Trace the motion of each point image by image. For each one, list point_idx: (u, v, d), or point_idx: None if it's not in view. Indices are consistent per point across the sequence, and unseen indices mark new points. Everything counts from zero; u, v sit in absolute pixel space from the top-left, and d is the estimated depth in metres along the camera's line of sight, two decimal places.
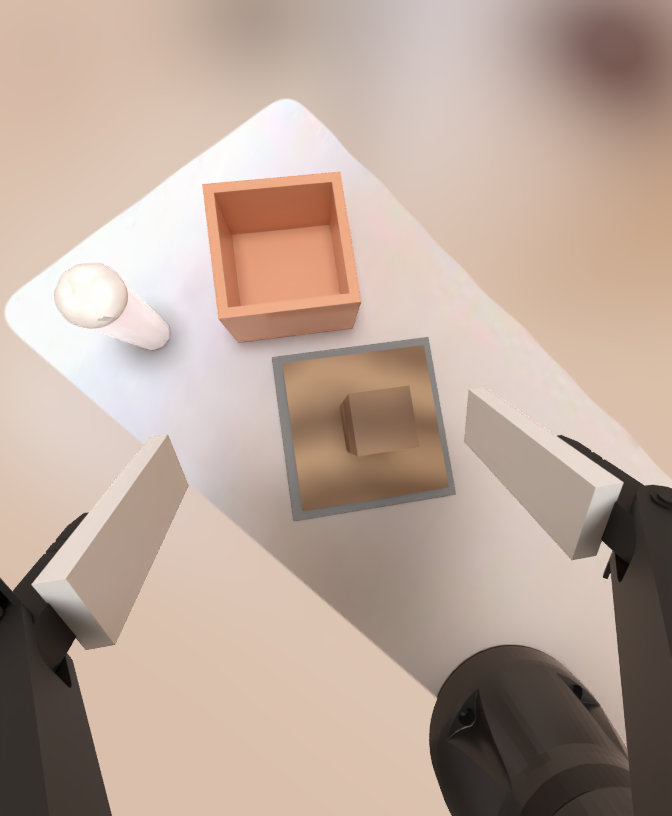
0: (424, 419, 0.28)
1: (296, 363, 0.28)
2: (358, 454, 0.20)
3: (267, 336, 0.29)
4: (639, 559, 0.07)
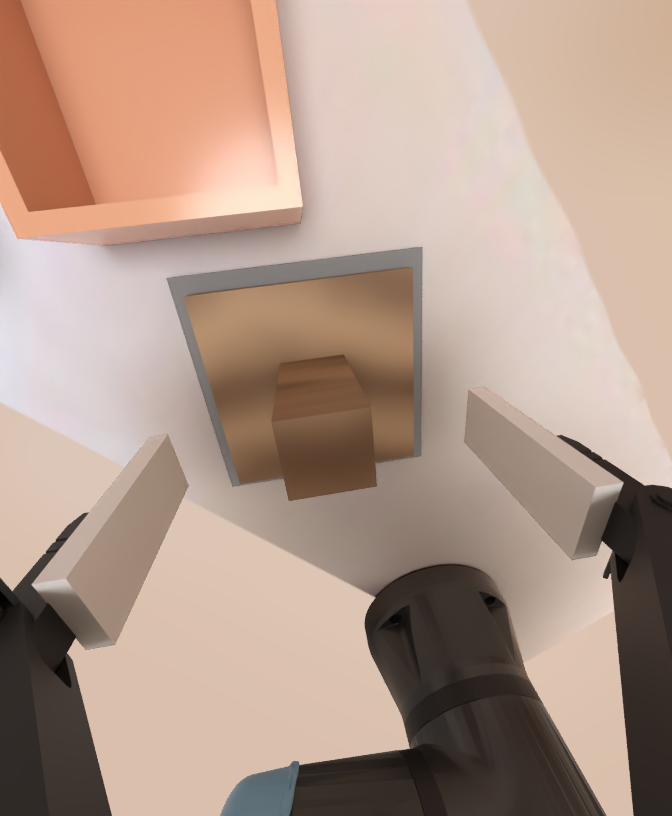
0: (396, 379, 0.21)
1: (206, 296, 0.18)
2: (289, 498, 0.14)
3: (151, 238, 0.17)
4: (639, 559, 0.07)
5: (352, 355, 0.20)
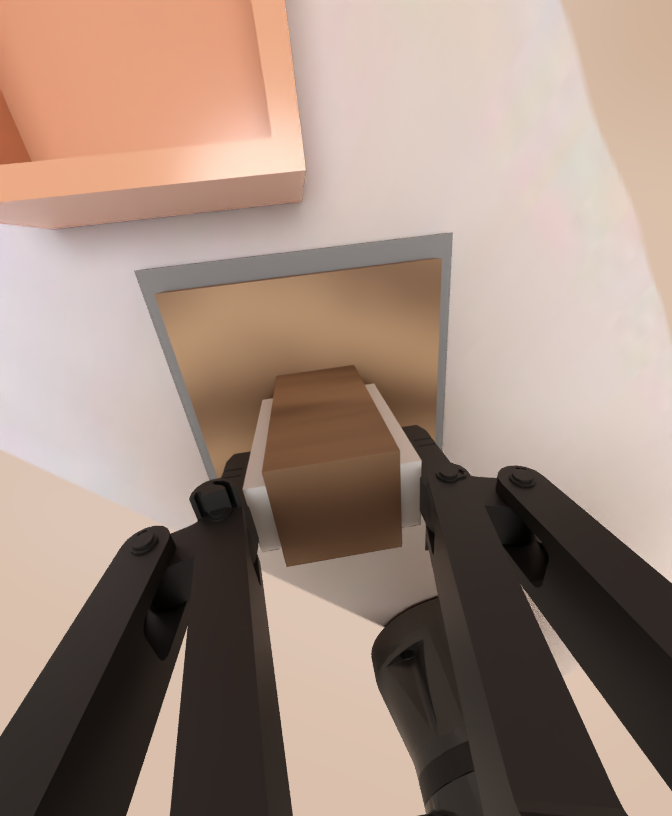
0: (417, 394, 0.17)
1: (183, 294, 0.14)
2: (288, 563, 0.11)
3: (112, 220, 0.13)
4: (437, 533, 0.08)
5: (364, 366, 0.16)
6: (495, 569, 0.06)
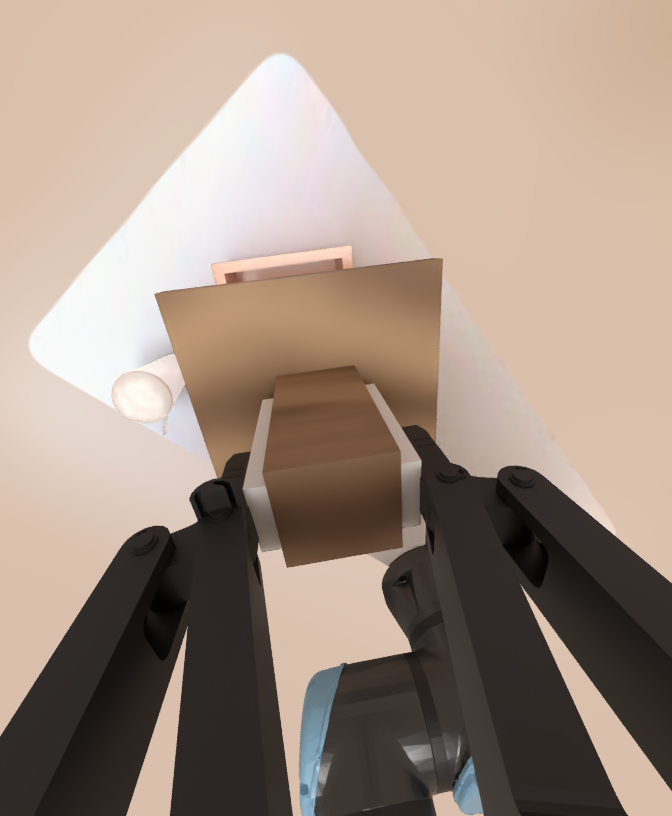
0: (417, 395, 0.17)
1: (184, 294, 0.14)
2: (288, 563, 0.11)
3: None
4: (437, 533, 0.08)
5: (364, 366, 0.16)
6: (495, 569, 0.06)
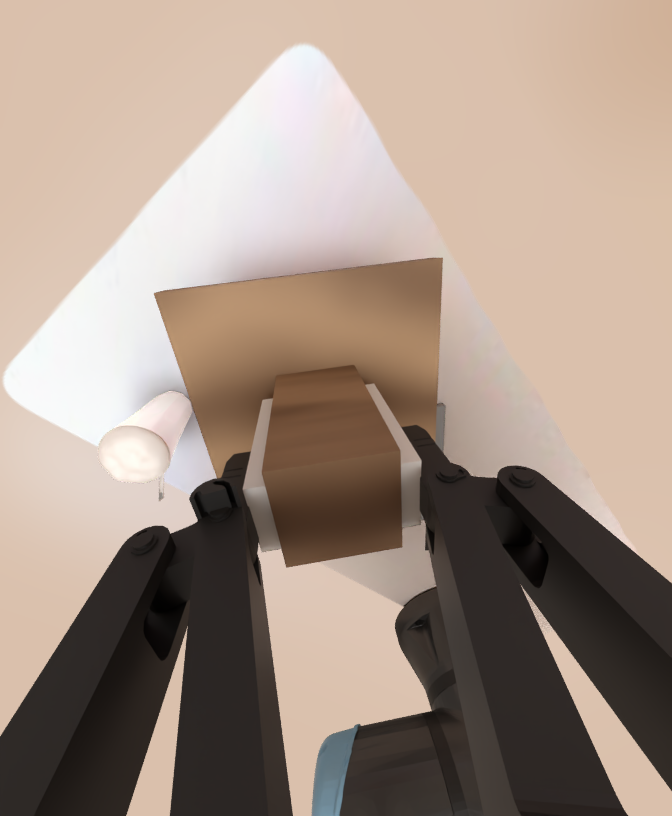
0: (417, 394, 0.17)
1: (183, 293, 0.14)
2: (287, 563, 0.11)
3: None
4: (437, 533, 0.08)
5: (364, 366, 0.16)
6: (495, 569, 0.06)
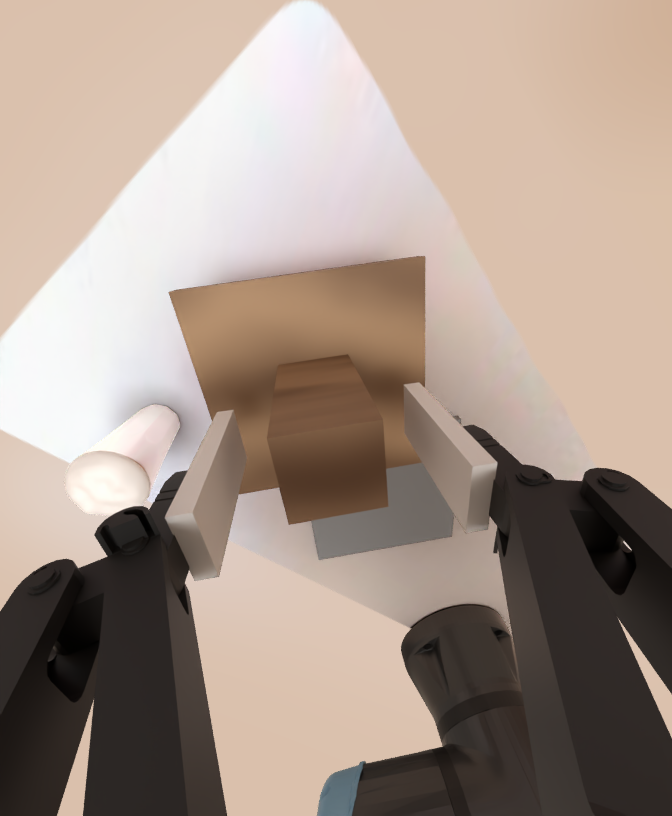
0: (406, 381, 0.19)
1: (194, 292, 0.16)
2: (290, 521, 0.12)
3: None
4: (513, 535, 0.08)
5: (357, 355, 0.18)
6: (580, 579, 0.06)
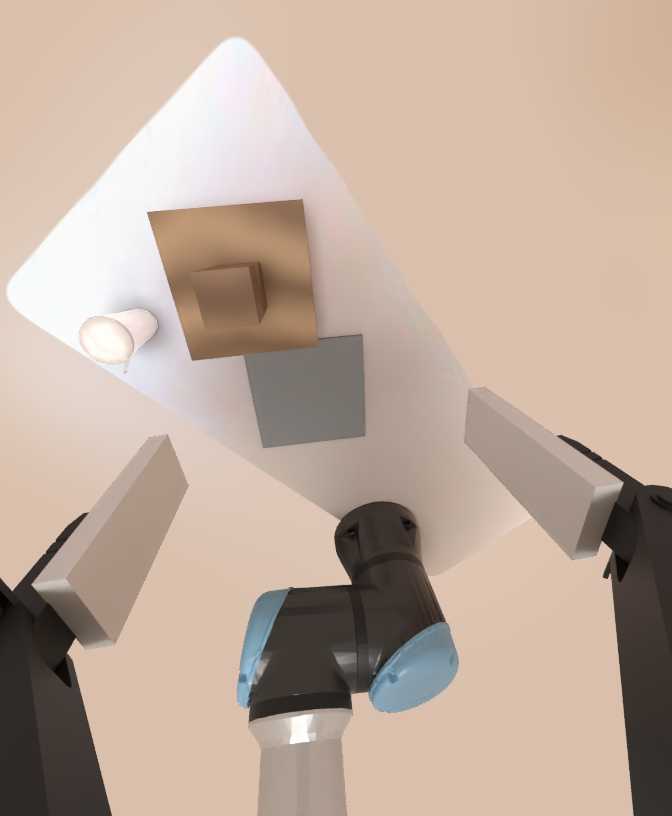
0: (299, 284, 0.30)
1: (162, 213, 0.27)
2: (206, 328, 0.23)
3: None
4: (639, 559, 0.07)
5: (266, 263, 0.29)
6: None
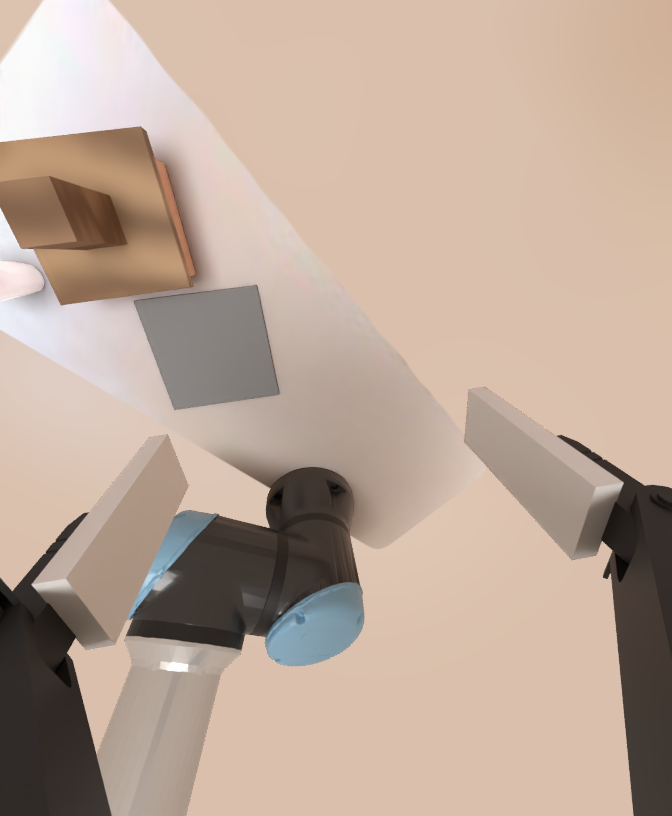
0: (156, 219, 0.30)
1: None
2: (21, 246, 0.23)
3: None
4: (639, 559, 0.07)
5: (116, 196, 0.29)
6: None
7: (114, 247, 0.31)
